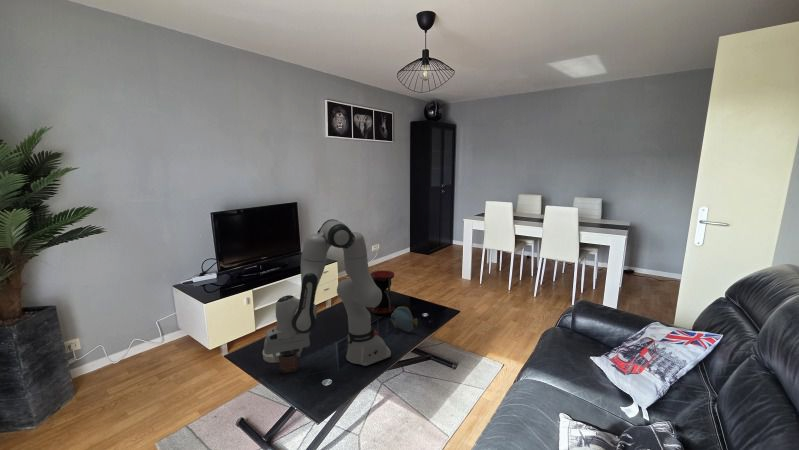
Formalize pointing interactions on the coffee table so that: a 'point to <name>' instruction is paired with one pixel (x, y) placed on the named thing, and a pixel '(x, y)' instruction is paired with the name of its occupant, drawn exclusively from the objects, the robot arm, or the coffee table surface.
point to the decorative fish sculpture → (403, 319)
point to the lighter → (287, 361)
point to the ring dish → (270, 357)
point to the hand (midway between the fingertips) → (288, 358)
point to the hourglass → (383, 283)
